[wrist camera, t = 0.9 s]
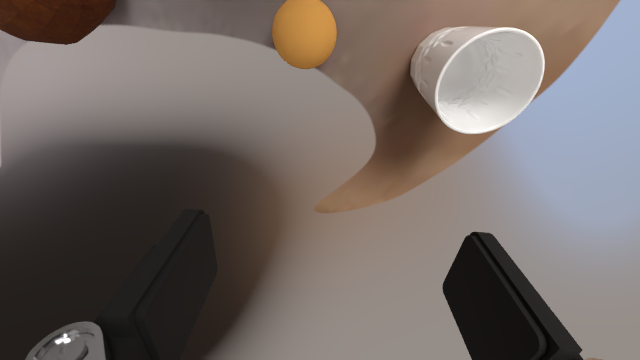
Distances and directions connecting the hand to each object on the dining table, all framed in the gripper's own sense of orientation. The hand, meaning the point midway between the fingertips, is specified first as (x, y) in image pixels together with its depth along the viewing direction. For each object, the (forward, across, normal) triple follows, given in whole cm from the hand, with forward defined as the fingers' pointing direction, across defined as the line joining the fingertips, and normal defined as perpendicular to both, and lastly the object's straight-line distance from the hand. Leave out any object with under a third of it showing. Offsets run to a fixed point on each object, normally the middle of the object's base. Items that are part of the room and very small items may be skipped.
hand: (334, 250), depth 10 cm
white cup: (+25, -12, -4) cm, 28 cm away
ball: (+21, +3, -6) cm, 22 cm away
